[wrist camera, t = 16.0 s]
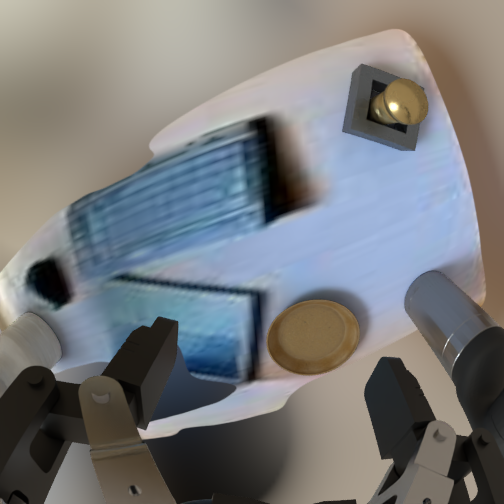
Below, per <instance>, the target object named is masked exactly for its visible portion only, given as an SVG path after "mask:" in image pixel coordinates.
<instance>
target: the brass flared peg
mask: <svg viewBox="0 0 504 504" xmlns="http://www.w3.org/2000/svg"><path fill="white" fill-rule="evenodd" d="M427 112H428V100H427V97H426V95H425V93H424V91H423V90H422V89H421V87H420V86H419V85H418V84H416V83H415V82H413V81H411V80H409V79H403V78H402V79H397V80H395V81H393V82H391V83H390V84H388V85H387V87H386V88H385V91H384V92H382V93H380V94H378V95H376V96H374V97H372V98H370V100H369V107H368V112H367V118H366V120H368V121H371V122H374V123H377V124H380V125H383V126H384V125H388V124H393V123H398V122H399V123H401V124H404V125H412V124H417V123H420V122H421V121H423V120H424V119H425V117H426V115H427Z"/></svg>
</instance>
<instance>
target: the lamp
mask: <svg viewBox="0 0 504 504" xmlns="http://www.w3.org/2000/svg"><path fill="white" fill-rule="evenodd" d="M61 355H62V351H61V346H60V343H59V341H58V339H57V337H56V335H55V333H54V332H53V331H52V329H51V328H50V327H49V326H48V324H47V323H46V322H45V321H43V320H42V319H41V318H40V317H39V316H37V315H35V314H33V313H30V312H27V313H24V314H23V315H22V316H20V317H19V318H18V319H16V320H15V321H14V322H13V323H12V324H11V325H9V326H8V327H7V328H6V329H4V330H3V331H2V333H1V334H0V398H1V396H2V395H3V394H4V392H5V391H6V390H7V389H8V387H9V386H10V385H11V383H12V382H13V381H14V380H15V379H16V377H17V376H18V375H19V374H20V372H21V371H22V370H24V369H25V368H27V367H30V366H36V365H37V366H44V367H46V368H48V369H49V370H51V369H52V368H53V367H54V366H55V364H56V363H57V362H58V361H59V360H60V358H61Z"/></svg>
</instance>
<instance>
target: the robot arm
mask: <svg viewBox="0 0 504 504" xmlns="http://www.w3.org/2000/svg"><path fill="white" fill-rule="evenodd" d="M405 310H406V312H407V314H408V315H409V317H410V318H411V320H412V321H413V322H414V324H415V325H416V327H417V328H418V330H419V331H420V333H421V334H422V336H423V337H424V338H425V340H426V341H427V343H428V344H429V346H430V347H431V349H432V350H433V352H434V353H435V355H436V356H437V358H438V359H439V361H440V362H441V364H442V366H443V367H444V368H445V370H446V372H447V373H448V375H449V376H450V378H451V380H452V381H453V383H454V384H455V386H456V393H457V397H458V399H459V402H460V404H461V406H462V408H463V410H464V412H465V414H466V416H467V418H468V421H469V423H470V425H471V428H472V430H473V432H472V433H471V434H470V435H469V436H468V437H467V436H461V435H456V433H455V431H454V429H453V428H452V427H451V426H450V425H448V424H447V423H446V422H443V421H438V420H436V418H435V416H434V414H433V412H432V409H431V407H430V406H429V403H428V401H427V399H426V397H425V396H424V393H423V391H422V389H420V385H419V383H418V381H417V379H416V378H415V377H414V376H413V375H412V374H411V373H410V372H409V371H408V370H406V368H405V366H404V364H403V362H402V360H401V359H400V358H395V357H382V358H381V359H380V360H379V362H378V364H377V366H376V367H375V369H374V371H373V373H372V375H371V377H370V378H369V380H368V382H367V384H366V386H365V391H364V397H365V401H366V404H367V408H368V411H369V415H370V418H371V421H372V425H373V429H374V433H375V436H376V440H377V444H378V447H379V451H380V455H381V459H391V458H393V461H394V462H393V463H392V464H391V465H390V467H389V469H388V470H387V472H386V474H385V476H384V478H383V480H382V482H381V483H380V485H379V487H378V489H377V490H376V492H375V494H374V495H373V497H372V498H371V500H370V501H369V502H368V503H367V504H504V329H503V328H502V327H501V326H500V325H499V324H498V323H497V322H496V321H495V320H494V319H493V318H491V317H490V316H489V315H488V314H487V313H486V312H485V311H484V310H483V309H482V308H481V307H480V306H479V305H478V304H477V303H476V302H474V301H473V300H472V299H471V298H470V297H469V296H468V295H467V294H466V293H464V292H463V291H462V290H461V289H460V288H459V287H458V286H457V285H455V284H454V283H453V282H452V281H451V280H450V279H449V278H447V277H446V276H445V275H444V274H442V273H441V272H437V271H431V272H427V273H425V274H423V275H421V276H420V277H418V278H417V279H416V280H415V281H414V282H413V283H412V285H411V286H410V287H409V289H408V291H407V294H406V297H405ZM177 340H178V321H175V320H171V319H167V318H163V317H160V316H159V317H157V319H156V320H155V322H154V323H153V325H152V326H151V328H150V327H146V326H141V327H139V328H137V329H136V330H134V331H132V333H131V334H130V335H129V337H128V338H127V339H126V342H124V343H123V345H122V346H121V349H119V350H118V352H117V353H116V355H115V356H114V357H113V359H112V360H111V362H110V363H109V365H108V366H107V367H106V369H105V370H104V372H103V373H102V374H101V376H93V377H90V378H88V379H86V380H85V381H84V382H83V383H82V384H74V383H66V382H61V381H56V379H55V376H54V374H53V372H52V371H51V370H49V369H48V368H46V367H44V366H37V365H36V366H30V367H27V368H25V369H24V370H22V371H21V372H20V374H19V375H18V376H17V377H16V379H15V380H14V381H13V382H12V383H11V385H10V386H9V387H8V389H7V390H6V391H5V392H4V394H3V395H2V396H1V398H0V504H44V502H45V499H46V497H47V495H48V492H49V490H50V488H51V486H52V483H53V481H54V479H55V477H56V475H57V472H58V470H59V468H60V466H61V464H62V462H63V460H64V458H65V455H66V454H67V451H68V449H69V447H70V445H71V443H72V442H76V443H82V444H88V445H90V448H91V450H90V455H91V459H92V463H93V466H94V469H95V472H96V475H97V478H98V481H99V484H100V487H101V489H102V492H103V495H104V498H105V500H106V503H107V504H176V502H175V500H174V499H173V497H172V495H171V493H170V491H169V490H168V488H167V486H166V484H165V483H164V480H163V478H162V476H161V474H160V472H159V470H158V468H157V466H156V464H155V462H154V460H153V458H152V456H151V453H150V452H149V449H148V447H147V445H146V443H145V442H143V441H142V439H141V437H140V435H139V432H138V430H137V428H140V429H143V430H146V429H147V426H148V424H149V422H150V419H151V417H152V415H153V412H154V410H155V408H156V405H157V403H158V401H159V399H160V396H161V394H162V392H163V390H164V387H165V385H166V382H167V380H168V378H169V376H170V373H171V372H172V369H173V367H174V364H175V360H176V355H177ZM471 471H472V473H473V476H474V478H475V482H476V484H477V488H478V493H477V495H476V497H475V498H474V499H473V500H472V501H471V502H470V498H469V495H468V491H467V488H466V485H465V482H464V477H466V476H467V475H468V474H469V473H470V472H471ZM183 504H268V503H265V502H261V501H258V500H255V499H252V498H245V497H238V496H231V495H225V494H219V493H214V494H213V497H212V500H197V501H191V502H186V503H183ZM315 504H356V500H355V499H354V500H341V501H323V502H319V503H315Z"/></svg>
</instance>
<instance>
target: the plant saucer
mask: <svg viewBox="0 0 504 504" xmlns="http://www.w3.org/2000/svg"><path fill="white" fill-rule="evenodd" d="M359 338H360V328H359V324H358V321H357V319H356V317H355V316H354V315H353V313H352V312H351V311H350V310H349V309H347V308H346V307H345V306H343V305H341V304H339V303H336V302H333V301H329V300H321V299H316V300H308V301H303V302H300V303H297V304H295V305H293V306H291V307H289V308H287V309H286V310H284V311H283V312H282V313H280V314H279V315H278V316H277V317H276V318H275V320H274V321H273V322H272V324H271V326H270V328H269V330H268V333H267V339H266V340H267V341H266V343H267V350H268V352H269V355H270V356H271V358H272V359H273V361H274V362H275V363H276V364H277V365H278V366H280V367H281V368H282V369H284V370H286V371H288V372H291V373H294V374H298V375H307V376H310V375H319V374H323V373H327V372H329V371H332V370H334V369H336V368H338V367H339V366H341V365H342V364H343V363H345V362H346V361H347V360H348V359H349V358H350V357H351V355H352V354H353V353H354V351H355V350H356V348H357V345H358V342H359Z"/></svg>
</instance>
